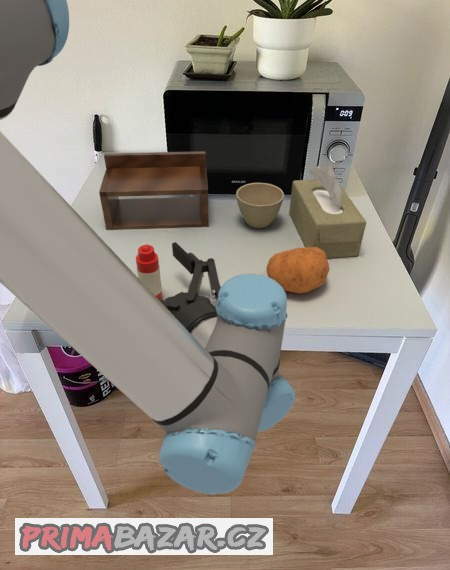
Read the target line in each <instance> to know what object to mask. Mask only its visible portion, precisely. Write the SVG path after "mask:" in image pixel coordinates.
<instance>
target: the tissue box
mask: <svg viewBox="0 0 450 570" xmlns="http://www.w3.org/2000/svg"><path fill="white" fill-rule="evenodd" d="M308 172H309V173H310V175H311V176H312V177H313V179H301V180H299V179H298V180H293V181H292V185H291V194H290V203H289V211H288V213H289V215H290V217H291V219H292V221H293V224H294V225H295V227H296V230H297V232H298V234H299V236H300V238H301V240H302V242H303V245H304V247H317V248H319V249H321V250H323V251H324V252H325V254H326V257H327V259H334V258H347V257H349V258H350V257H358V256H359V253H360V251H361V246H362V242H363V238H364V235H365V231H366V227H367V220H366V218H365V217H364V216H363V215H362V213H361V212H360V210H359V209H358V208H357V206H356V205H355V204H354V202H353V200H351V198H350V197H349V195H348V194H347V192H346V191H345V189H344V188H343V186H341V184H340V182H339V179H338V178H337V176H336V175H335V174H336V173H335V171H334V167H333V166H332V164H331V163H330V162H326V163H325V164H322V165H321V166H320V165H317V166H315V167H314V168H312V169H308Z"/></svg>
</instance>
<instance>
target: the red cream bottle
mask: <svg viewBox="0 0 450 570" xmlns="http://www.w3.org/2000/svg"><path fill="white" fill-rule="evenodd" d="M159 261H160V260H159V255H158V253H157V252H155V248H154V246H153V245H150V244H143V245H140V246H139V247H137V255H136V256H135V263H136V271H137V277H138V278H139V279H140V280H141V281H142V283H143V284H144V285H145V286H146V287H147V288H148V289H149V290H150V291H151V292H152V293H153V294H154V295H155V296H156V297H157V298H158V299H161V300H163V286H162V278H161V269H160V262H159Z"/></svg>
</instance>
